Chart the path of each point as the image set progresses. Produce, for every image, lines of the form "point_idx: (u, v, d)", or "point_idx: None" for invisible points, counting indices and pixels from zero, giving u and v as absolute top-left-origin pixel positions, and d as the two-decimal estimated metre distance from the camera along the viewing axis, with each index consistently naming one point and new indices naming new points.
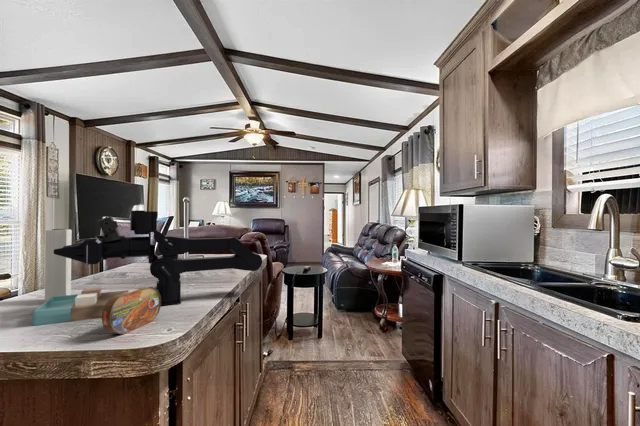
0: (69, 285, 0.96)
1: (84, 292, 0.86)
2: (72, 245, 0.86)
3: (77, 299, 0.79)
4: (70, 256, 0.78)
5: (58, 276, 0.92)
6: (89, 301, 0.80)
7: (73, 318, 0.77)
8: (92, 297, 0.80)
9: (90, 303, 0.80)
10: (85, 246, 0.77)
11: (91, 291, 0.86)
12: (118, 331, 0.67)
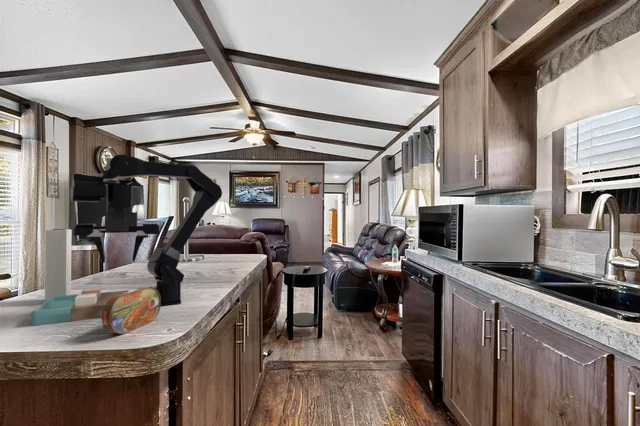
0: (69, 285, 0.96)
1: (84, 292, 0.86)
2: (104, 255, 0.82)
3: (77, 299, 0.79)
4: None
5: (58, 276, 0.92)
6: (89, 301, 0.80)
7: (73, 318, 0.77)
8: (92, 297, 0.80)
9: (90, 303, 0.80)
10: (148, 236, 0.86)
11: (91, 291, 0.86)
12: (118, 331, 0.67)
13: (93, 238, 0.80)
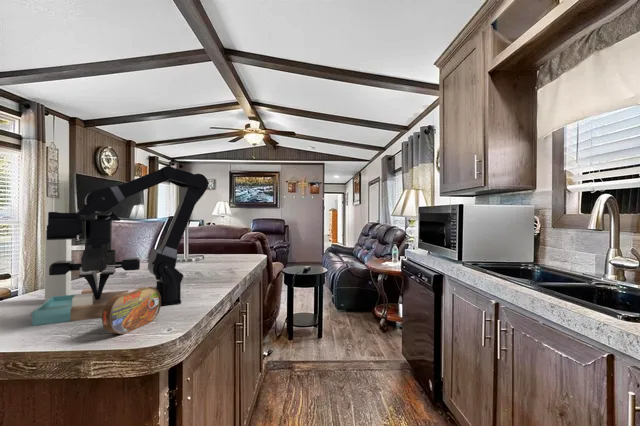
0: (69, 285, 0.96)
1: (84, 292, 0.86)
2: (97, 292, 0.81)
3: (74, 299, 0.78)
4: (104, 284, 0.84)
5: (58, 276, 0.92)
6: (86, 301, 0.79)
7: (73, 318, 0.77)
8: (89, 297, 0.80)
9: (87, 303, 0.79)
10: (114, 272, 0.83)
11: (91, 291, 0.86)
12: (118, 331, 0.67)
13: (86, 276, 0.79)
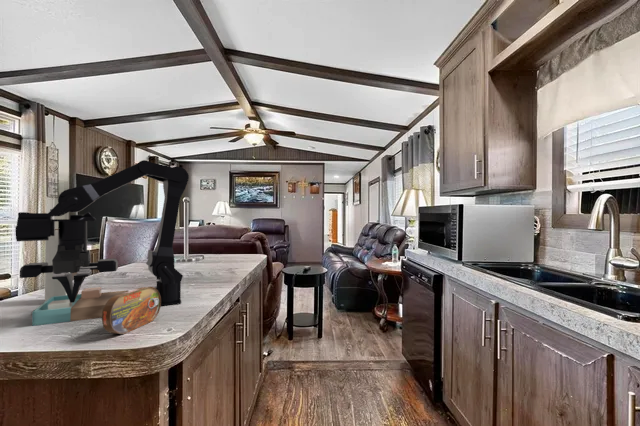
0: None
1: (84, 292, 0.86)
2: (72, 294, 0.79)
3: (50, 306, 0.76)
4: (80, 286, 0.81)
5: None
6: None
7: (73, 318, 0.77)
8: (66, 304, 0.78)
9: None
10: (89, 274, 0.80)
11: (91, 291, 0.86)
12: (118, 331, 0.67)
13: (59, 278, 0.76)
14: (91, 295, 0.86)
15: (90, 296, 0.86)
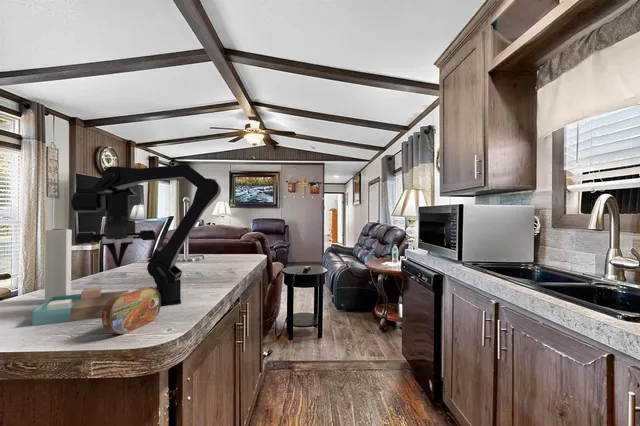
0: (69, 285, 0.96)
1: (84, 292, 0.86)
2: (117, 260, 0.90)
3: (49, 306, 0.76)
4: None
5: (58, 276, 0.92)
6: None
7: (73, 318, 0.77)
8: (65, 304, 0.78)
9: None
10: (132, 242, 0.91)
11: (91, 291, 0.86)
12: (118, 331, 0.67)
13: (108, 244, 0.87)
14: (91, 295, 0.86)
15: (90, 296, 0.86)
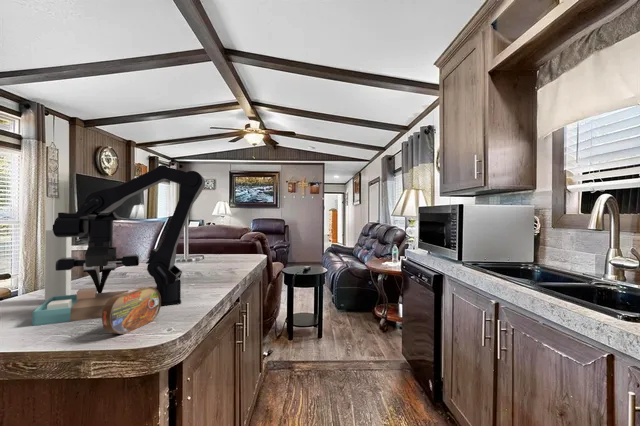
0: (69, 285, 0.96)
1: (79, 292, 0.85)
2: (99, 286, 0.88)
3: (49, 306, 0.76)
4: (106, 279, 0.91)
5: (58, 276, 0.92)
6: None
7: (73, 318, 0.77)
8: (65, 304, 0.78)
9: None
10: (115, 268, 0.90)
11: (86, 291, 0.86)
12: (118, 331, 0.67)
13: (89, 271, 0.86)
14: (87, 296, 0.86)
15: (85, 296, 0.86)
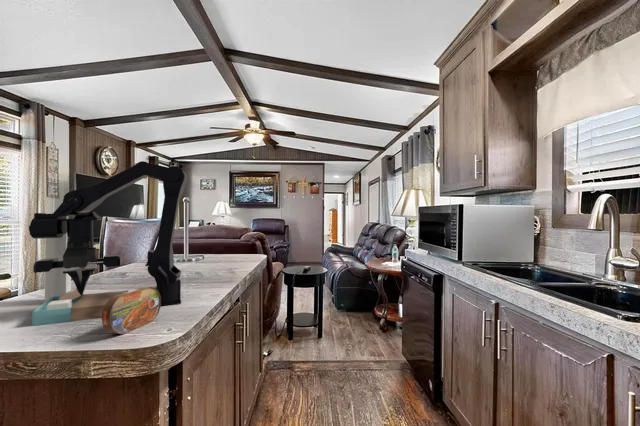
0: (69, 285, 0.96)
1: (62, 297, 0.84)
2: (81, 287, 0.86)
3: (49, 306, 0.76)
4: (87, 280, 0.89)
5: (58, 276, 0.92)
6: None
7: (73, 318, 0.77)
8: (65, 304, 0.78)
9: None
10: (95, 269, 0.88)
11: (68, 294, 0.84)
12: (118, 331, 0.67)
13: (69, 272, 0.84)
14: (71, 297, 0.84)
15: (70, 298, 0.84)
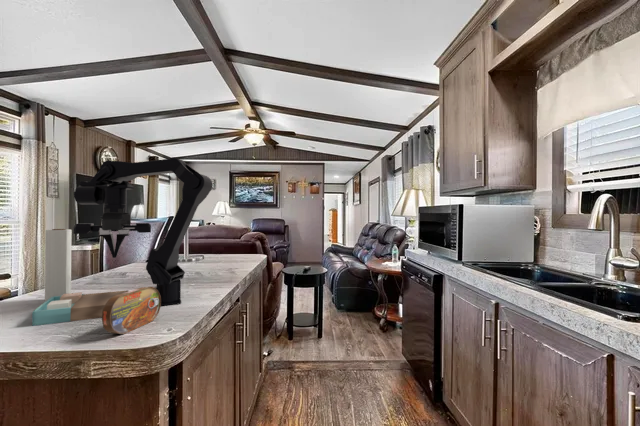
0: (69, 285, 0.96)
1: (63, 298, 0.84)
2: (114, 251, 0.93)
3: (49, 306, 0.76)
4: (120, 245, 0.95)
5: (58, 276, 0.92)
6: None
7: (73, 318, 0.77)
8: (65, 304, 0.78)
9: None
10: (128, 234, 0.94)
11: (70, 297, 0.84)
12: (118, 331, 0.67)
13: (104, 236, 0.90)
14: None
15: None
